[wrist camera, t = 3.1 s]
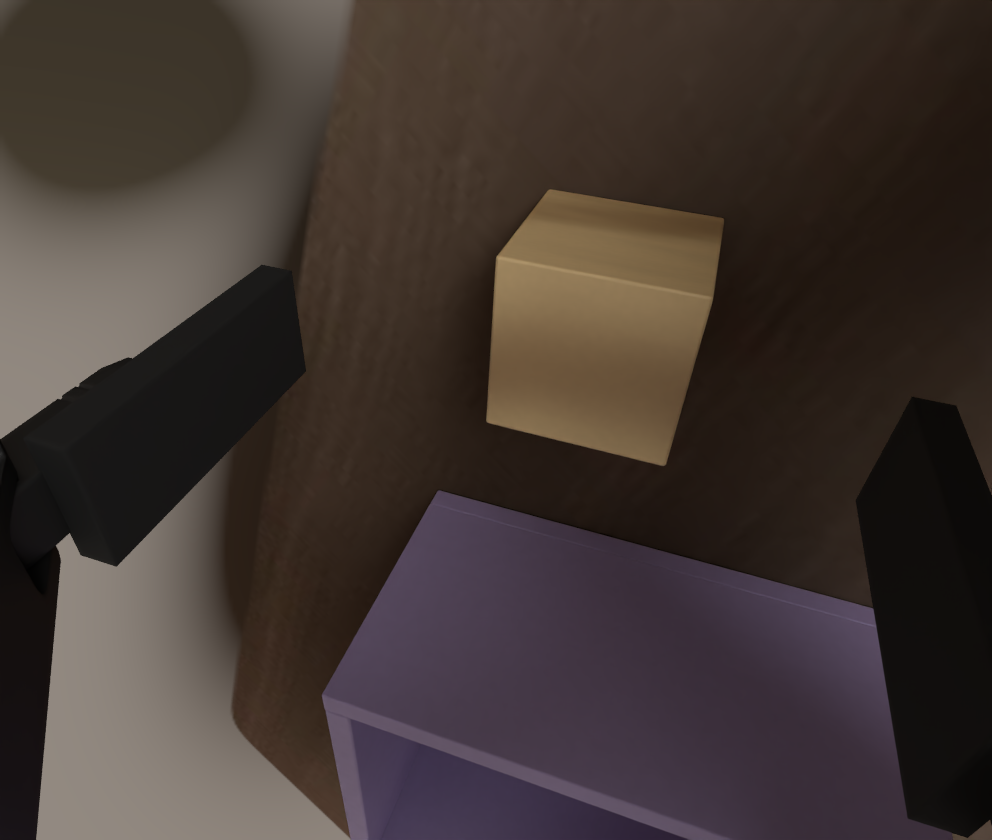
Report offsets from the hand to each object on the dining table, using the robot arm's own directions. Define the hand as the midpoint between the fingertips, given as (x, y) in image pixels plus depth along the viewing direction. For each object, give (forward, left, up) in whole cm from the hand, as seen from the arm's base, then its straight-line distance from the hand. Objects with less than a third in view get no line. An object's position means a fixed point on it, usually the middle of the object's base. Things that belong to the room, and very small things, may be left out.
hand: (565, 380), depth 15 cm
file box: (+16, +3, -5) cm, 17 cm away
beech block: (0, 0, -5) cm, 5 cm away
